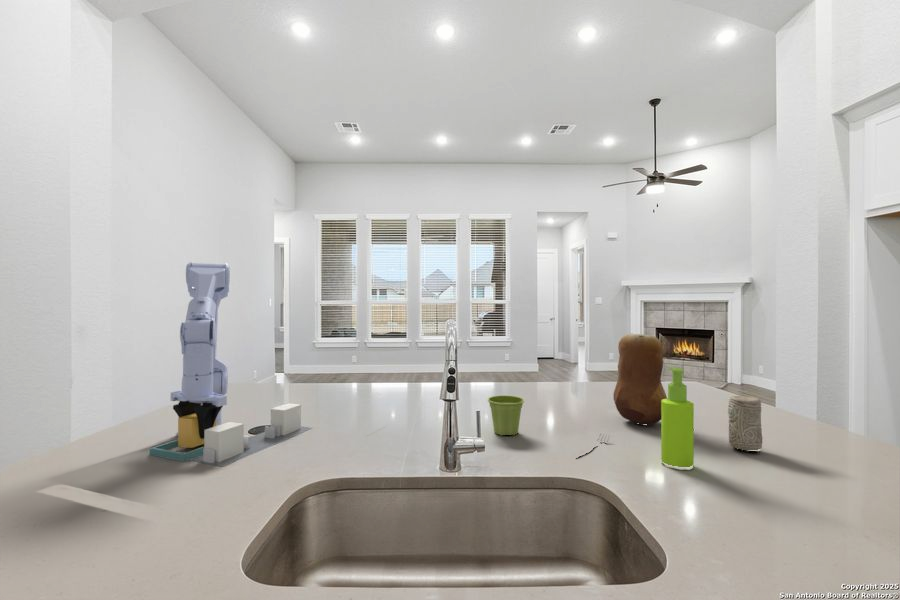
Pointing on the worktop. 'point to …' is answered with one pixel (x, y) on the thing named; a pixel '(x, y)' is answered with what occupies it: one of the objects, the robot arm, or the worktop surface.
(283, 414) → the block
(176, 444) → the tray
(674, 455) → the soap dispenser
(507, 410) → the plant pot
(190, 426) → the yellow rectangular block
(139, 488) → the worktop surface
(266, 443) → the board
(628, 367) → the butternut squash
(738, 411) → the carving
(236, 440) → the block
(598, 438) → the fork
